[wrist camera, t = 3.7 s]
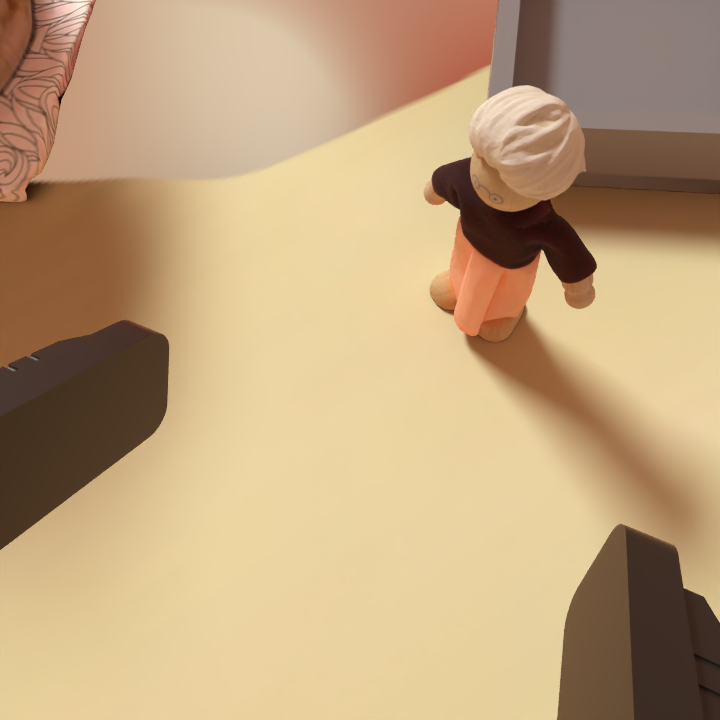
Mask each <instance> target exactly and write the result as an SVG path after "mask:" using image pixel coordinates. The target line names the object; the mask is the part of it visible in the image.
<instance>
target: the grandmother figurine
mask: <svg viewBox="0 0 720 720" xmlns="http://www.w3.org/2000/svg"><path fill="white" fill-rule="evenodd" d="M469 139H470V143H471V145H472V147H473V149H474V152H473V154H472V157H470V158H466V159H463V160H459V161H456V162H452V163H449V164H447V165H443V166H441V167H439V168H438V169H436V170H435V171H434V173H433V175H432V178H431V180H430V181H429V182H428V183H427V184H426V186H425V188H424V197H425V199H426V200H427V201H428V202H429V203H430V204H432V205H440V204H442V203H444V202H445V201H448V202H449V203H450V204H451V205H453V206H454V207H456V208H458V209H460V214H461V216H460V218H459V221H458V224H457V229H456V237H455V244H454V249H453V252H452V257H451V263H450V270H448V271H445V272H443V273H441V274H439V275H437V276H436V277H435V278H434V279H433V281H432V282H431V285H430V294H431V297H432V298H433V300H434V301H435V302H436V304H437V305H438V306H440V307H442V308H444V309H448V310H454V309H455V311H454V320H455V322H456V324H457V326H458V327H459V329H460V330H461V331H463V332H464V333H466V334H468V335H470V336H476V335H479V336H481V337H482V338H483V339H485V340H487V341H491V342H499V341H502V340H504V339H506V338H508V337H509V336H510V334H511V333H512V331H513V330H514V328H515V326H516V324H517V322H518V320H519V318H520V317H521V315H522V313H523V311H524V306H525V303H526V301H527V300H528V298H529V296H530V294H531V291H532V287H533V284H534V281H535V278H536V272H537V268H538V263H539V259H540V253H541V249H542V250H543V251H544V253H545V256H546V258H547V260H548V263H549V265H550V266H551V268H552V270H553V271H554V273H555V274H556V275H557V276H558V278H559V279H560V280H561V282H562V286H563V288H564V289H565V299H566V302H567V303H568V304H569V305H570V306H571V307H573V308H577V309H581V308H585V307H587V306H589V305H590V304H591V303H592V302H593V300H594V298H595V289H594V287H593V286H592V283H593V273H594V271H595V270H596V268H597V264H596V262H595V259H594V257H593V256H592V254H591V253H590V252H589V251H588V250H587V248H586V247H585V245H584V244H583V242H582V241H581V239H580V238H579V236H578V235H577V233H576V232H575V230H574V229H573V228H572V227H571V226H570V224H569V223H568V222H567V221H565V220H564V219H563V218H562V217H561V216H559V215H557V214H556V213H555V211H554V209H553V207H552V205H551V201H550V199H551V198H554V197H556V196H558V195H560V194H561V193H563V192H564V191H566V190H567V189H568V188H569V187H570V186H571V184H572V183H573V181H574V180H575V178H576V176H577V175H578V174H579V173H581V172H583V171H584V172H586V164H585V157H584V149H585V139H584V134H583V132H582V130H581V127H580V125H579V123H578V121H577V119H576V117H575V116H574V114H573V113H572V112H571V111H570V110H569V109H568V107H567V105H566V104H565V103H564V102H563V101H562V100H561V99H559V98H558V97H555V96H552V95H550V94H547V93H545V92H544V91H542V90H541V89H539V88H536V87H533V86H529V85H525V86H517V87H512V88H509V89H507V90H504V91H502V92H500V93H498V94H496V95H494V96H493V97H491V98H490V99H488V100H487V101H485V102H484V103H483V104H482V105H481V106H480V107H479V108H478V109H477V110H476V111H475V113H474V115H473V117H472V120H471V124H470V127H469Z"/></svg>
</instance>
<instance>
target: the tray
mask: <svg viewBox="0 0 720 720" xmlns="http://www.w3.org/2000/svg"><path fill="white" fill-rule="evenodd" d="M525 85H529V86H533V87H536V88H539V89H541V90H542V91H544V92H545V93H547V94H550V95H552V96H555V97H558V98H559V99H561V100H562V101H563V102H564V103H565V104H566V105H567V107H568V109H569V110H570V111H571V112H572V113H573V114H574V116H575V117H576V119H577V121H578V123H579V125H580V127H581V130H582V132H583V134H584V139H585V149H584V157H585V164H586V172H584V171H583V172H581V173H579V174H578V175H577V176H576V178H575V180H574V181H573V183H572V184H571V185H576V186H593V187H611V188H628V189H646V190H663V191H681V192H698V193H716V194H720V0H498V6H497V16H496V24H495V33H494V42H493V51H492V60H491V69H490V78H489V88H488V97H487V100H488V99H490V98H491V97H493V96H494V95H496V94H498V93H500V92H502V91H504V90H507V89H509V88H512V87H517V86H525Z"/></svg>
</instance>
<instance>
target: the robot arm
mask: <svg viewBox="0 0 720 720" xmlns="http://www.w3.org/2000/svg"><path fill="white" fill-rule="evenodd" d="M168 366H169V343H168V340H167V338H166V337H165V336H164V335H163V334H160V333H158V332H155V331H153V330H151V329H148V328H146V327H143V326H141V325H138V324H136V323H133V322H131V321H128V320H123V321H119V322H117V323H115V324H113V325H111V326H109V327H106V328H104V329H102V330H100V331H98V332H96V333H94V334H92V335H87V336H82V337H77V338H73V339H68V340H63V341H58V342H56V343H54V344H52V345H50V346H48V347H45V348H43V349H41V350H39V351H37V352H34V353H32V354H31V357H30V358H28V357H24V358H21V359H19V360H17V361H15V362H13V363H10V364H9V366H8V367H7V368H4V367H2V368H0V550H1V549H2V548H4V547H5V546H6V545H8V544H9V543H10V542H12V541H13V540H14V539H15V538H17V537H18V536H19V535H21V534H22V533H23V532H25V531H26V530H27V529H29V528H30V527H31V526H33V525H34V524H35V523H37V522H38V521H39V520H41V519H42V518H43V517H44V516H46V515H47V514H48V513H50V512H51V511H52V510H54V509H55V508H56V507H58V506H59V505H60V504H62V503H63V502H64V501H66V500H67V499H68V498H70V497H71V496H72V495H73V494H75V493H76V492H77V491H79V490H80V489H81V488H83V487H84V486H85V485H87V484H88V483H89V482H91V481H92V480H93V479H95V478H96V477H97V476H99V475H100V474H101V473H103V472H104V471H105V470H106V469H108V468H109V467H110V466H112V465H113V464H114V463H116V462H117V461H118V460H120V459H121V458H122V457H124V456H125V455H126V454H128V453H129V452H130V451H132V450H133V449H134V448H136V447H137V446H138V445H139V444H141V443H142V442H143V441H145V440H146V439H147V438H149V437H150V436H151V435H152V434H153V433H154V432H155V431H156V430H157V428H158V427H159V425H160V424H161V422H162V420H163V418H164V416H165V412H166V408H167V394H168ZM557 720H720V623H719V621H718V619H717V618H716V616H715V615H714V613H713V611H712V610H711V608H710V606H709V605H708V603H707V601H706V600H705V598H704V597H703V596H701V595H698V594H696V593H694V592H691V591H689V590H687V589H684V588H683V583H682V576H681V570H680V563H679V557H678V552H677V549H676V547H675V546H674V545H672V544H669V543H667V542H664V541H662V540H659V539H657V538H654V537H652V536H650V535H647V534H645V533H642V532H640V531H637V530H635V529H633V528H630V527H628V526H625V525H623V524H619V525H617V526H616V527H615V528H614V530H613V531H612V532H611V534H610V535H609V537H608V539H607V540H606V542H605V544H604V545H603V547H602V549H601V550H600V552H599V554H598V555H597V557H596V559H595V560H594V562H593V564H592V565H591V567H590V568H589V570H588V572H587V573H586V575H585V577H584V578H583V580H582V582H581V583H580V585H579V587H578V588H577V590H576V592H575V594H574V596H573V599H572V601H571V604H570V607H569V610H568V614H567V618H566V622H565V629H564V640H563V653H562V666H561V679H560V692H559V705H558V717H557Z"/></svg>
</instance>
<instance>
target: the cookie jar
mask: <svg viewBox="0 0 720 720" xmlns="http://www.w3.org/2000/svg"><path fill="white" fill-rule="evenodd" d="M95 1H96V0H0V201H5V202H23V201H26V200H27V195H26V192H25V189H26V187H27V185H28V183H29V181H30V180H31V179H32V178H34V177H35V176H36V175H38V174H39V173H41V171H42V170H43V167H44V166H45V164H46V162H47V160H48V157H49V154H50V152H51V149H52V146H53V143H54V138H55V133H56V127H57V121H58V115H59V110H60V104H61V99H62V97H63V95H64V93H65V90H66V89H67V87H68V84H69V82H70V80H71V77H72V73H73V70H74V66H75V62H76V59H77V55H78V52H79V48H80V44H81V41H82V37H83V34H84V31H85V28H86V26H87V23H88V20H89V18H90V15H91V13H92V10H93V6H94V3H95Z"/></svg>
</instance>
